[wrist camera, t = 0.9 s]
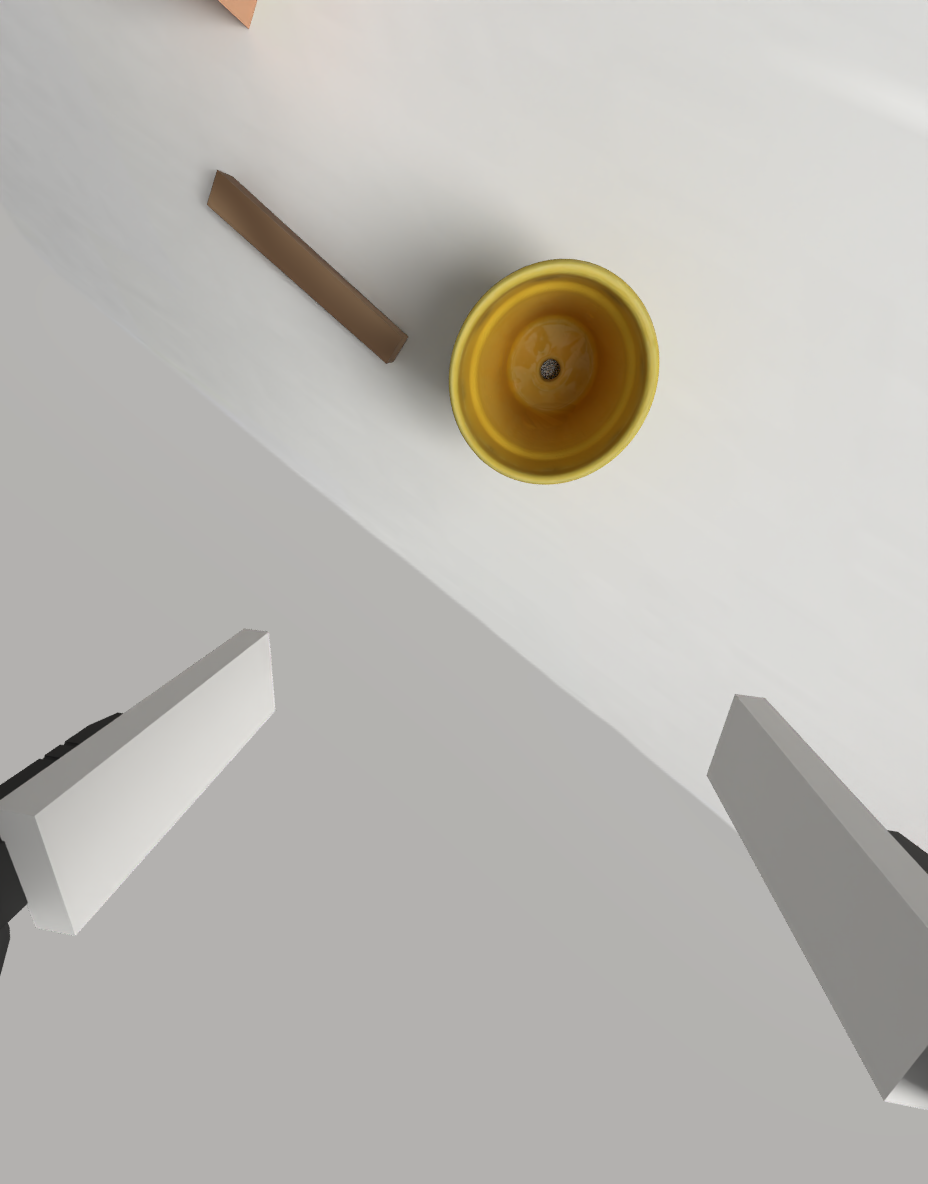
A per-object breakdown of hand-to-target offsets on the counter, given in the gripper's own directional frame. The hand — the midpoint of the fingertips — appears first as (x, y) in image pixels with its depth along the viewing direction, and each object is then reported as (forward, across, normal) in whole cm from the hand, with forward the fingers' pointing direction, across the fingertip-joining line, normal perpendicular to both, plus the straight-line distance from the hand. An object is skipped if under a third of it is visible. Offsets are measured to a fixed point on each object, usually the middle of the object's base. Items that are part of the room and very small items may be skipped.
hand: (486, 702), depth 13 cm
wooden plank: (+23, -15, +16) cm, 32 cm away
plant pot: (+23, +2, +12) cm, 26 cm away
